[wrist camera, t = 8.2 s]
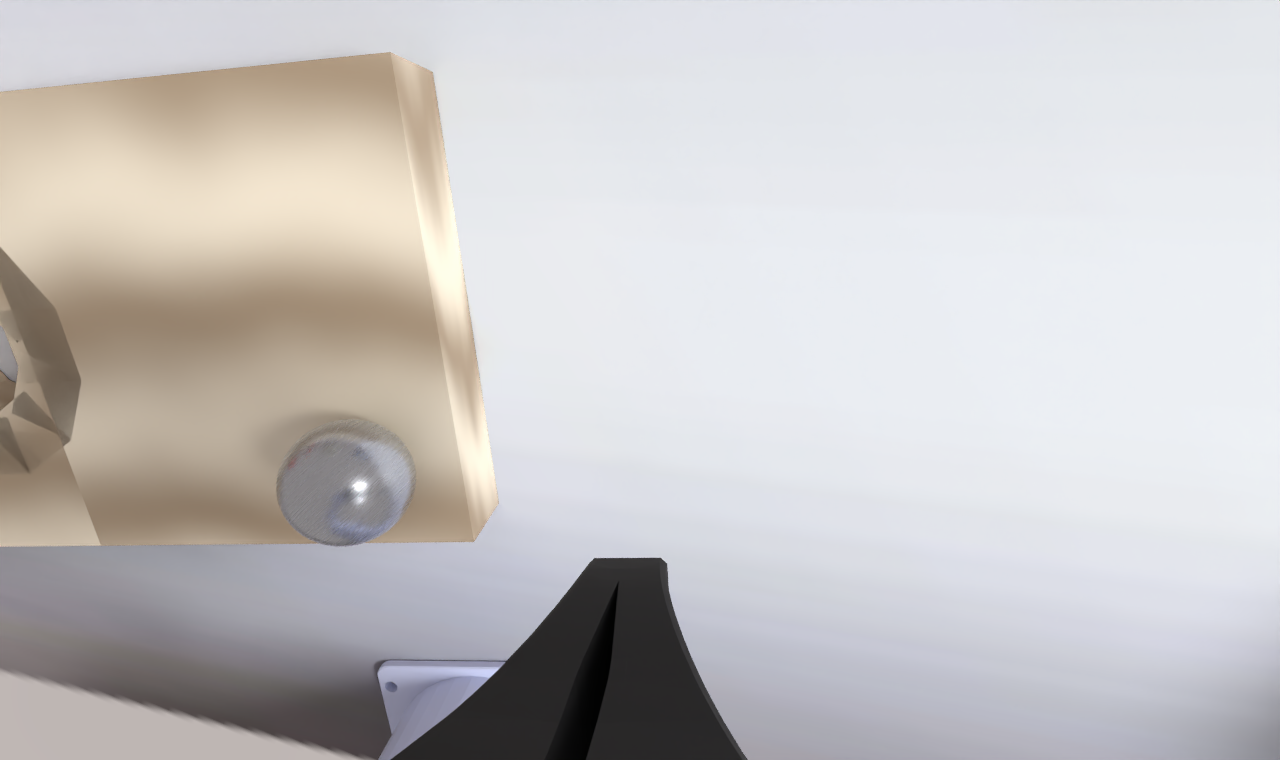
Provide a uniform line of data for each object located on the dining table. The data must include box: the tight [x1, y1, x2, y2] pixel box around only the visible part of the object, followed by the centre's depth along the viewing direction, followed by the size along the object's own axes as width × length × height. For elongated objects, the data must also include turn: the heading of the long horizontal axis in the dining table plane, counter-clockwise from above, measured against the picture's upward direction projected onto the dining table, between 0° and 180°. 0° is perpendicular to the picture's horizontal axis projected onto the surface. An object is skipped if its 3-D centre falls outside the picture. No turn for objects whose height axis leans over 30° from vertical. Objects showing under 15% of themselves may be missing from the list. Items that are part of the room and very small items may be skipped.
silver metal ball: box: [276, 419, 416, 546], centre depth 17 cm, size 4×4×4 cm
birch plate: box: [0, 52, 499, 547], centre depth 19 cm, size 14×22×2 cm, turn 94°
